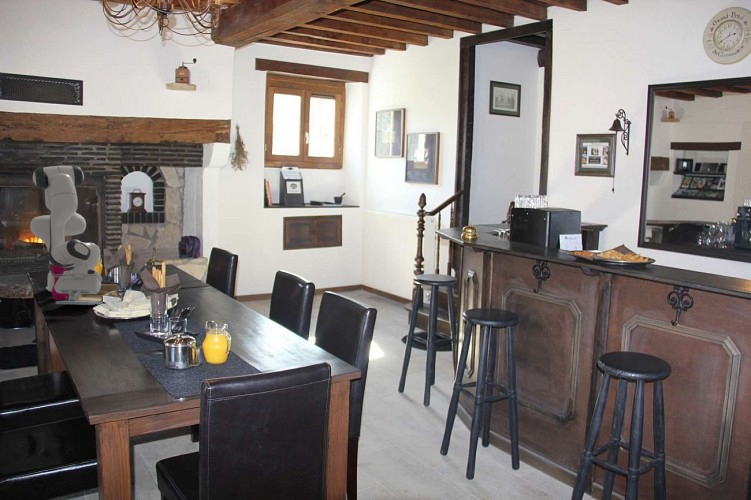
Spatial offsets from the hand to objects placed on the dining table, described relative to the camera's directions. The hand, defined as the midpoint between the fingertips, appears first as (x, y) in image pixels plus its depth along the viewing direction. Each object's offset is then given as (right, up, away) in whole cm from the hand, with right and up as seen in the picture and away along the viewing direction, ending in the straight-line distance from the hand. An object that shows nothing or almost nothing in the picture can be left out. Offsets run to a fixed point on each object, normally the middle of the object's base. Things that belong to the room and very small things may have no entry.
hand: (71, 300), depth 294 cm
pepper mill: (-16, -2, +22) cm, 27 cm away
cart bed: (+2, -2, +21) cm, 21 cm away
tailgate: (+1, -2, +13) cm, 13 cm away
